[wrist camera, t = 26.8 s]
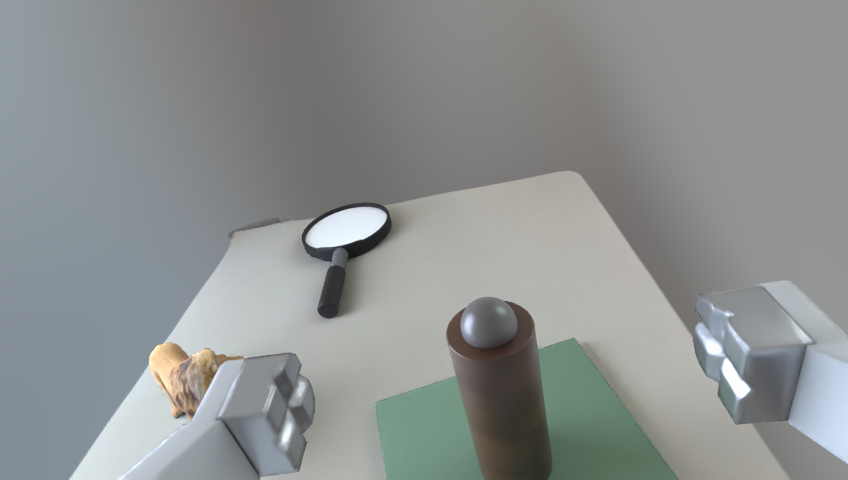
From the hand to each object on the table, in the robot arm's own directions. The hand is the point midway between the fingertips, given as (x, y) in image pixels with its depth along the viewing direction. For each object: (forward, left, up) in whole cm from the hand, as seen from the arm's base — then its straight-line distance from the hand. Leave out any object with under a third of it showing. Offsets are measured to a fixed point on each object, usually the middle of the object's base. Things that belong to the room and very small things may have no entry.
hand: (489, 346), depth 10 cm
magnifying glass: (+7, -49, -25) cm, 55 cm away
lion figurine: (+21, -29, -25) cm, 44 cm away
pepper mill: (-3, -13, -24) cm, 28 cm away
